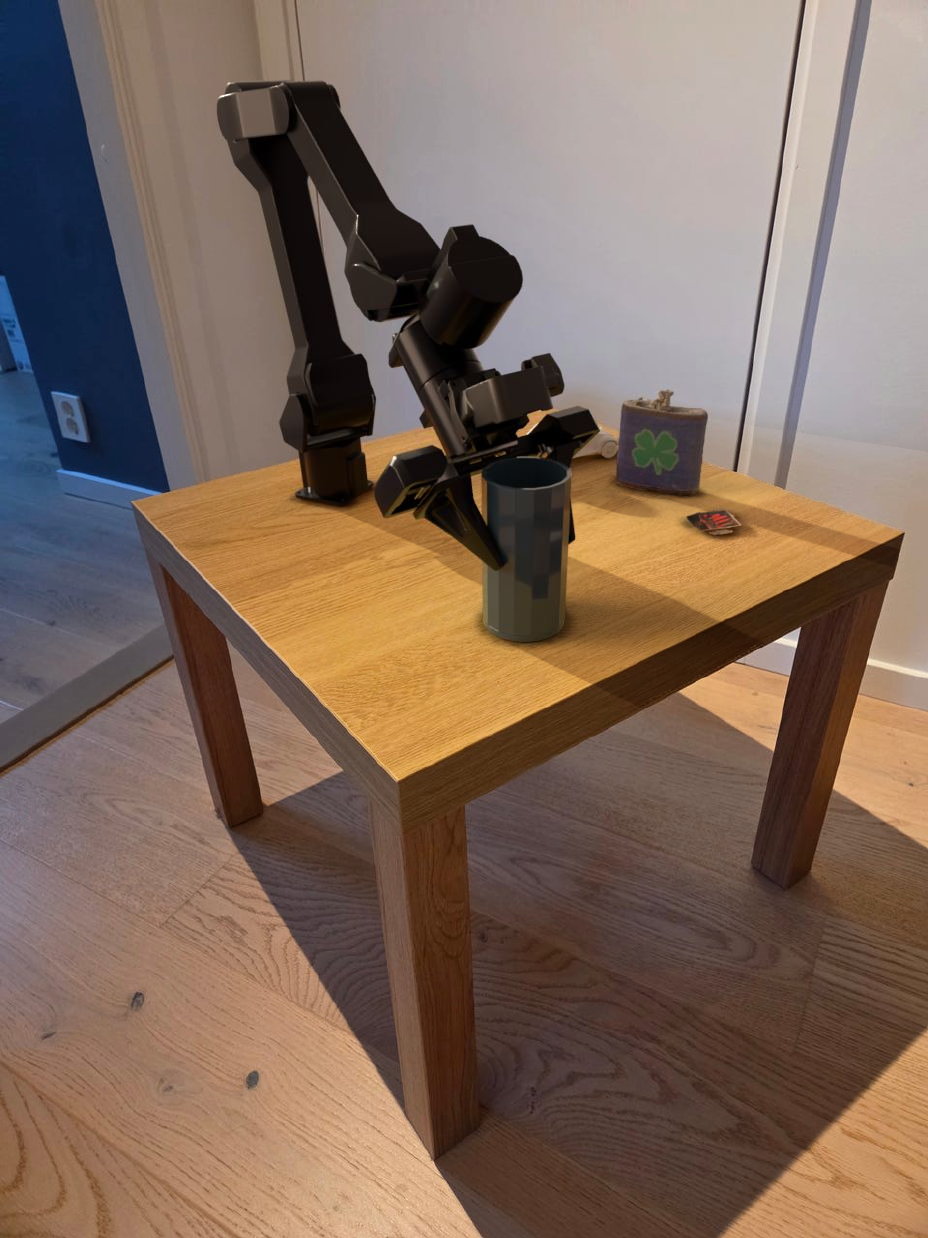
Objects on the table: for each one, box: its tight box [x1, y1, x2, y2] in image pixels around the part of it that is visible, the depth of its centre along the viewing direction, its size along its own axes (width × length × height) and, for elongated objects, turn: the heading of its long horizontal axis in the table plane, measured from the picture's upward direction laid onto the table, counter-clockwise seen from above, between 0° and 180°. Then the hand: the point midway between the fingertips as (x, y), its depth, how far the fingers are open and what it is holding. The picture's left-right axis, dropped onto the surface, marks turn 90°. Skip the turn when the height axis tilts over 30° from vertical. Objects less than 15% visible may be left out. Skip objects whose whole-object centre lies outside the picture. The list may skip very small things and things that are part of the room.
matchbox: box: [686, 508, 742, 536], centre depth 84 cm, size 5×5×1 cm
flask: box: [615, 389, 709, 497], centre depth 90 cm, size 9×3×11 cm, turn 61°
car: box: [526, 422, 619, 459], centre depth 100 cm, size 12×6×5 cm, turn 111°
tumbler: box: [480, 456, 573, 643], centre depth 67 cm, size 7×7×13 cm
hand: (536, 555), depth 66 cm, fingers closed on tumbler, 7 cm apart
